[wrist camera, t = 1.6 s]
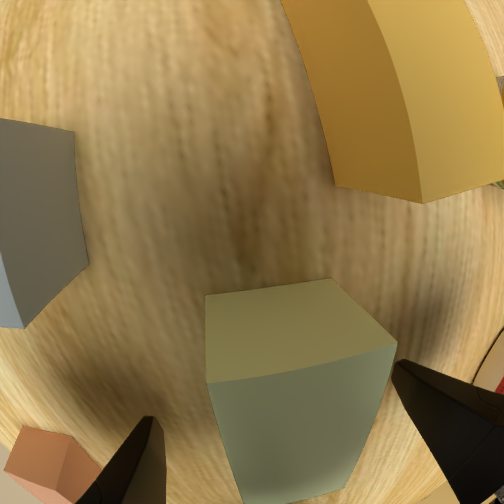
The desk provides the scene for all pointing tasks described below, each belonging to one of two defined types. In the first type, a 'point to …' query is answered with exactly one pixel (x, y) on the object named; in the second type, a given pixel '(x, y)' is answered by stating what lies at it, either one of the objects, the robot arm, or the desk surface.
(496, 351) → the fruit juice
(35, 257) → the slate brick
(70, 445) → the terracotta brick
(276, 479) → the sage brick
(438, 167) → the mustard brick
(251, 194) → the desk surface
